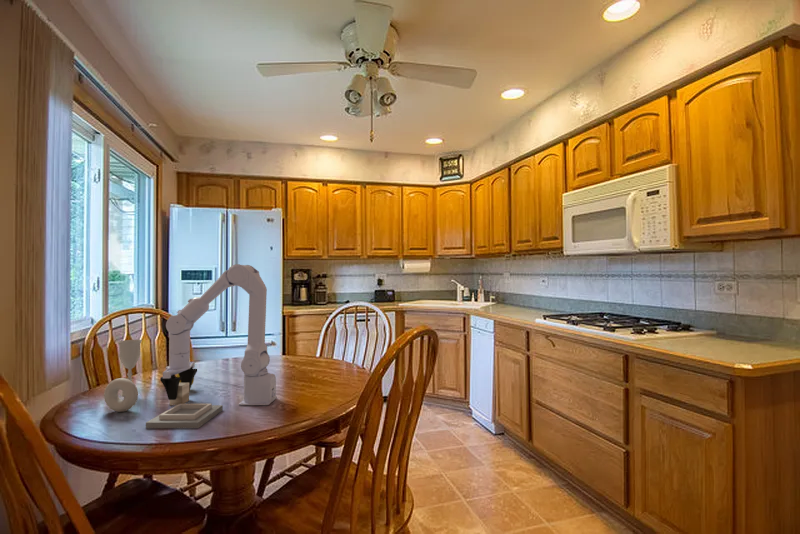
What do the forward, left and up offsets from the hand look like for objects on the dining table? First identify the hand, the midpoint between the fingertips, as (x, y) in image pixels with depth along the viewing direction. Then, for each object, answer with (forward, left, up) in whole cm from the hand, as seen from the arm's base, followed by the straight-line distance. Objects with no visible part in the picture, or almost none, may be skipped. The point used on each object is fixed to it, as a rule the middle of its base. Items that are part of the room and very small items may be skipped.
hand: (179, 395), depth 127 cm
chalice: (+23, -10, -3) cm, 25 cm away
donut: (+13, +8, -3) cm, 15 cm away
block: (0, 0, -2) cm, 2 cm away
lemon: (+6, -14, -3) cm, 15 cm away
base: (-10, +14, -2) cm, 17 cm away
